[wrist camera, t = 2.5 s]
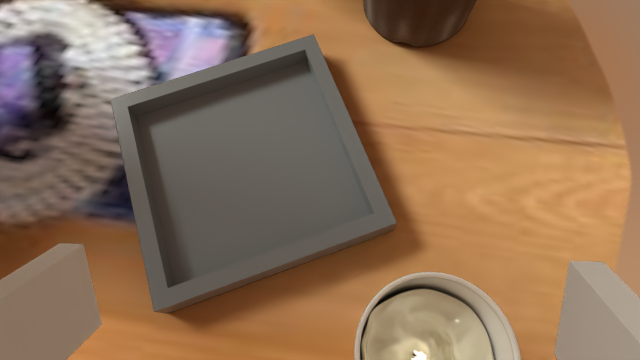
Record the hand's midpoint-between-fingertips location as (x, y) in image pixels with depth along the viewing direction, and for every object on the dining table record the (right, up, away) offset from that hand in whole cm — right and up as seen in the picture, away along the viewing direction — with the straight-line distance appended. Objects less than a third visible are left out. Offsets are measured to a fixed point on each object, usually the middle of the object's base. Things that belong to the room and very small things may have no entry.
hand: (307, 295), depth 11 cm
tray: (-7, +4, +31) cm, 32 cm away
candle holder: (+8, -12, +25) cm, 28 cm away
